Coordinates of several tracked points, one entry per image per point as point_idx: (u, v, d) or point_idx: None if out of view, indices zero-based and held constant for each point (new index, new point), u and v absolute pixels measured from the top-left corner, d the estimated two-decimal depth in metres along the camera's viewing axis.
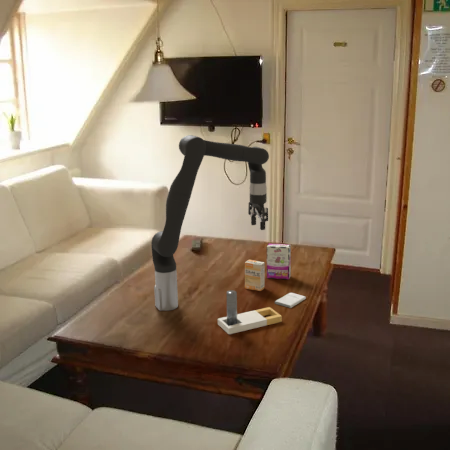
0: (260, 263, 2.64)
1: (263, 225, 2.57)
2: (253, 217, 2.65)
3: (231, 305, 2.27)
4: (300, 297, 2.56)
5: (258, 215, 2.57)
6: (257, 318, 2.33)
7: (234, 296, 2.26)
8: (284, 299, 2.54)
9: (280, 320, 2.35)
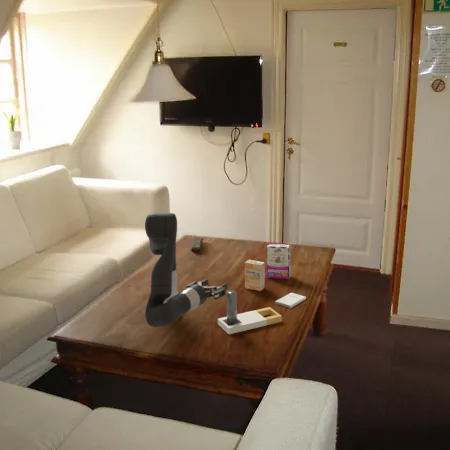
0: (260, 263, 2.64)
1: None
2: None
3: (231, 305, 2.27)
4: (300, 297, 2.56)
5: (199, 283, 2.14)
6: (257, 318, 2.33)
7: (234, 296, 2.26)
8: (284, 300, 2.54)
9: (280, 320, 2.35)
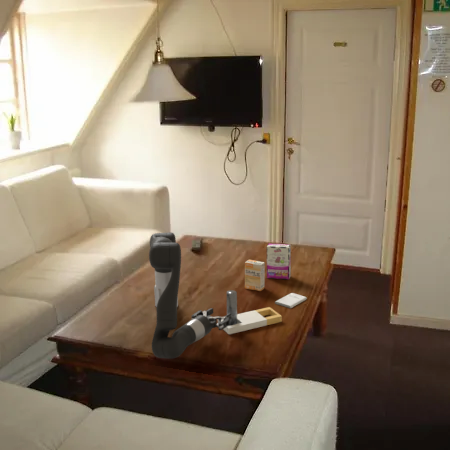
0: (260, 263, 2.64)
1: None
2: None
3: (231, 305, 2.27)
4: (301, 297, 2.55)
5: (204, 313, 2.20)
6: (257, 318, 2.33)
7: (234, 296, 2.26)
8: (284, 300, 2.53)
9: (280, 320, 2.35)
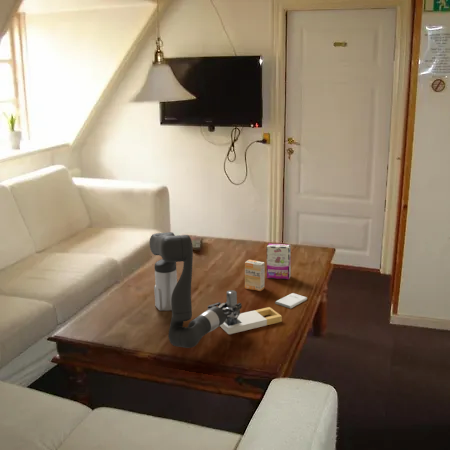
0: (260, 263, 2.64)
1: None
2: None
3: (231, 305, 2.27)
4: (301, 298, 2.55)
5: (220, 304, 2.27)
6: (257, 318, 2.33)
7: (234, 296, 2.26)
8: (284, 300, 2.53)
9: (280, 320, 2.35)
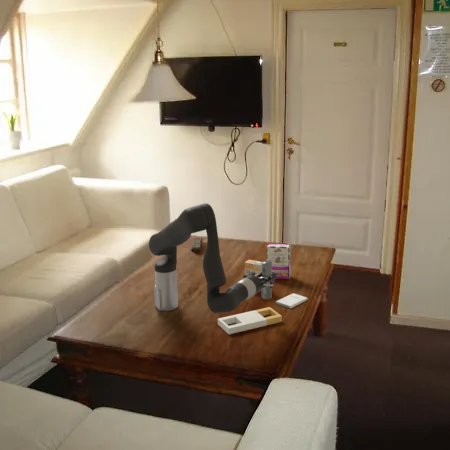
0: (260, 263, 2.64)
1: None
2: None
3: (266, 274, 2.30)
4: (302, 298, 2.55)
5: (256, 274, 2.30)
6: (257, 318, 2.33)
7: (269, 266, 2.29)
8: (285, 300, 2.53)
9: (280, 320, 2.35)
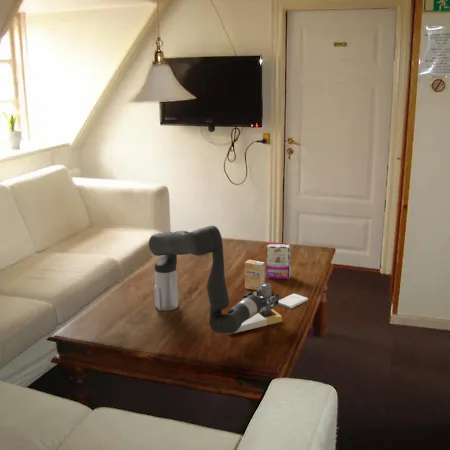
0: (260, 263, 2.64)
1: None
2: None
3: None
4: (302, 298, 2.55)
5: (254, 293, 2.33)
6: (257, 318, 2.33)
7: (269, 288, 2.33)
8: (285, 300, 2.53)
9: (280, 320, 2.35)
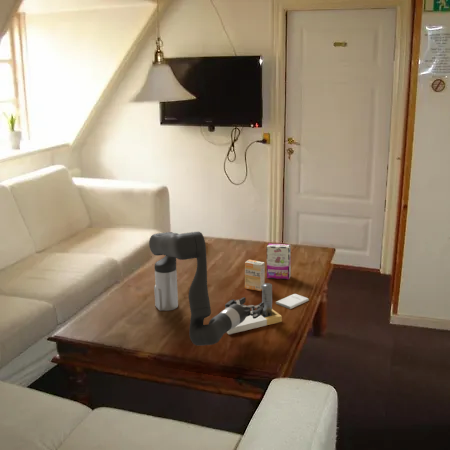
0: (260, 263, 2.64)
1: None
2: None
3: (266, 297, 2.33)
4: (302, 299, 2.54)
5: (237, 301, 2.23)
6: (257, 318, 2.33)
7: (270, 289, 2.33)
8: (285, 300, 2.53)
9: (280, 320, 2.35)
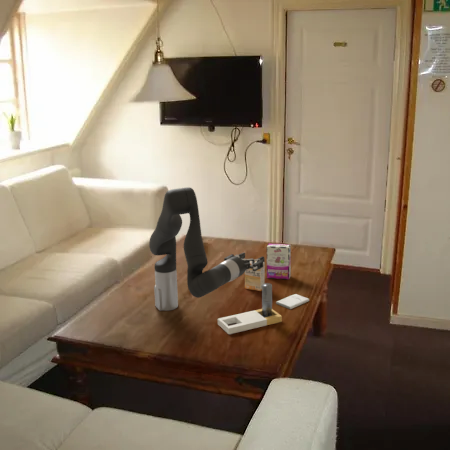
0: None
1: None
2: None
3: (266, 297, 2.33)
4: (303, 299, 2.54)
5: (236, 256, 2.18)
6: (257, 318, 2.33)
7: (270, 289, 2.33)
8: (285, 300, 2.53)
9: (280, 320, 2.35)
